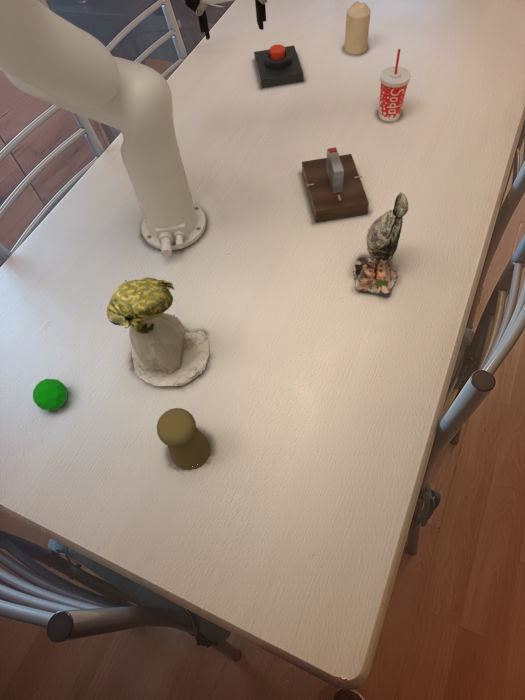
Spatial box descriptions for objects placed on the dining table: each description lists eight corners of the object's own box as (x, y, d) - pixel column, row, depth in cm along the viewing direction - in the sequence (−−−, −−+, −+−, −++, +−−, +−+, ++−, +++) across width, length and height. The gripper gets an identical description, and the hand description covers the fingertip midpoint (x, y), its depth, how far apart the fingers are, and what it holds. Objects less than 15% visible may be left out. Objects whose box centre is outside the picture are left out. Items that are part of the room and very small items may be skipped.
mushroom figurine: (187, 400, 78) (158, 340, 62) (118, 375, 82) (73, 311, 66) (219, 339, 84) (199, 270, 68) (153, 318, 87) (119, 246, 71)
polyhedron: (36, 401, 80) (21, 388, 76) (61, 381, 82) (48, 367, 78) (52, 421, 78) (38, 408, 74) (78, 400, 80) (65, 387, 76)
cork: (211, 429, 76) (197, 399, 66) (210, 469, 73) (195, 443, 63) (171, 432, 76) (152, 402, 66) (169, 471, 73) (148, 446, 63)
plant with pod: (408, 256, 89) (431, 164, 72) (387, 304, 84) (407, 217, 67) (364, 243, 92) (377, 151, 74) (342, 289, 87) (350, 202, 70)
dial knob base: (368, 214, 95) (370, 201, 92) (313, 223, 95) (313, 210, 92) (351, 165, 102) (353, 152, 100) (300, 174, 102) (300, 161, 99)
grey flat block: (342, 191, 94) (344, 169, 90) (333, 193, 94) (334, 171, 90) (335, 169, 98) (336, 146, 93) (326, 170, 98) (326, 147, 93)
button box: (303, 82, 118) (303, 65, 115) (261, 88, 118) (260, 72, 114) (294, 54, 124) (294, 37, 121) (254, 60, 124) (253, 44, 121)
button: (286, 59, 117) (286, 51, 116) (271, 61, 117) (270, 54, 115) (283, 50, 119) (283, 43, 117) (269, 53, 119) (268, 45, 117)
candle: (341, 45, 124) (343, 1, 116) (361, 40, 125) (365, -4, 116) (349, 57, 121) (352, 12, 113) (370, 51, 122) (375, 7, 113)
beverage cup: (373, 122, 108) (381, 57, 96) (376, 105, 111) (385, 40, 99) (402, 124, 107) (413, 59, 95) (404, 107, 110) (416, 41, 98)
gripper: (163, -70, 72) (188, 50, 87) (281, -91, 72) (285, 33, 87) (160, -91, 76) (184, 28, 91) (271, -110, 76) (277, 11, 91)
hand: (233, 30), depth 89 cm, fingers open, 9 cm apart
